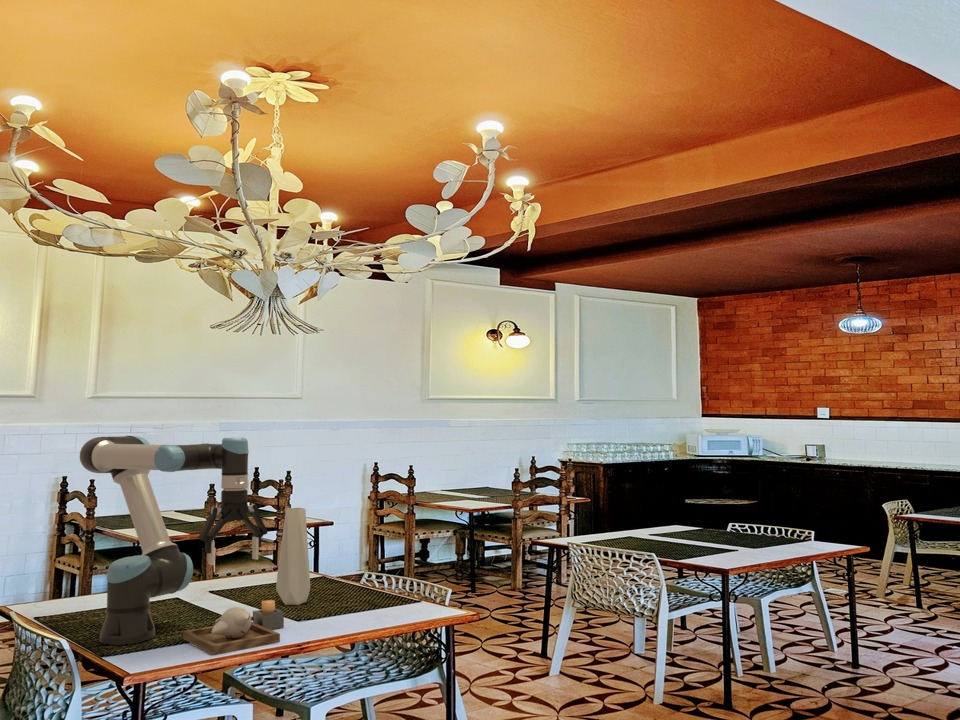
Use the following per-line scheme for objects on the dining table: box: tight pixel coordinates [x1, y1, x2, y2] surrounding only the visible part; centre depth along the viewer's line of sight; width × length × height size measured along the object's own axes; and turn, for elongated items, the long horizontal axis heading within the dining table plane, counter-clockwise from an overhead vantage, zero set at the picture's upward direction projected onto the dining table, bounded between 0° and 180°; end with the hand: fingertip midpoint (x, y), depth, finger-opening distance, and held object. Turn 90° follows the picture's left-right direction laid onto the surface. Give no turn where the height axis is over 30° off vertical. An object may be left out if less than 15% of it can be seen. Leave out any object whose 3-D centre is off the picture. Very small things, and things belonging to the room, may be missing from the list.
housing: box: [252, 607, 285, 631], centre depth 255 cm, size 7×7×5 cm
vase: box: [275, 507, 311, 606], centre depth 291 cm, size 12×12×33 cm
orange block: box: [261, 599, 276, 614], centre depth 255 cm, size 4×4×5 cm
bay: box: [182, 621, 281, 656], centre depth 240 cm, size 20×22×2 cm
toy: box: [212, 606, 255, 639], centre depth 242 cm, size 13×9×15 cm
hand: (233, 561), depth 243 cm, fingers open, 13 cm apart
